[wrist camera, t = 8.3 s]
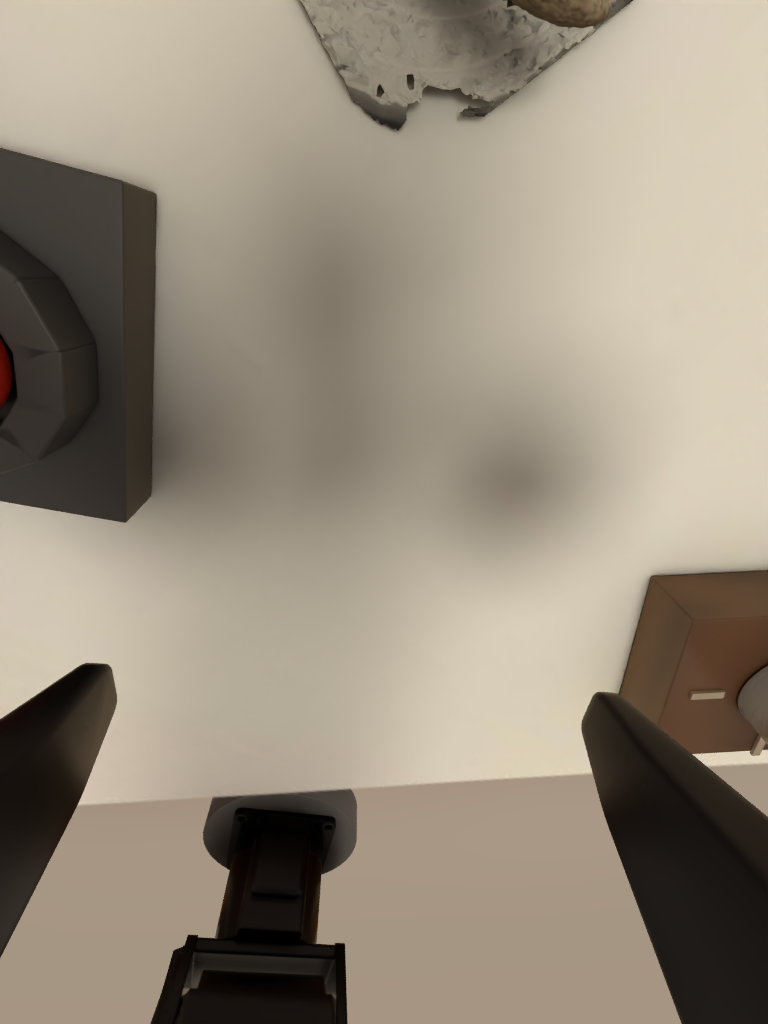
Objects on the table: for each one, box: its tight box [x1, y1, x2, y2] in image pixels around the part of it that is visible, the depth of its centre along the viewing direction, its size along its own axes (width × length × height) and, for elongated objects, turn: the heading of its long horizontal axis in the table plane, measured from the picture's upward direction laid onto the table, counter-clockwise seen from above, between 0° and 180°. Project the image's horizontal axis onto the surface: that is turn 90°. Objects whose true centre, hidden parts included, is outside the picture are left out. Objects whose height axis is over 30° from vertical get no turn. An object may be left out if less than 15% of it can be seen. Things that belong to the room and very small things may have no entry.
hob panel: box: [620, 571, 768, 756], centre depth 21 cm, size 10×8×3 cm
